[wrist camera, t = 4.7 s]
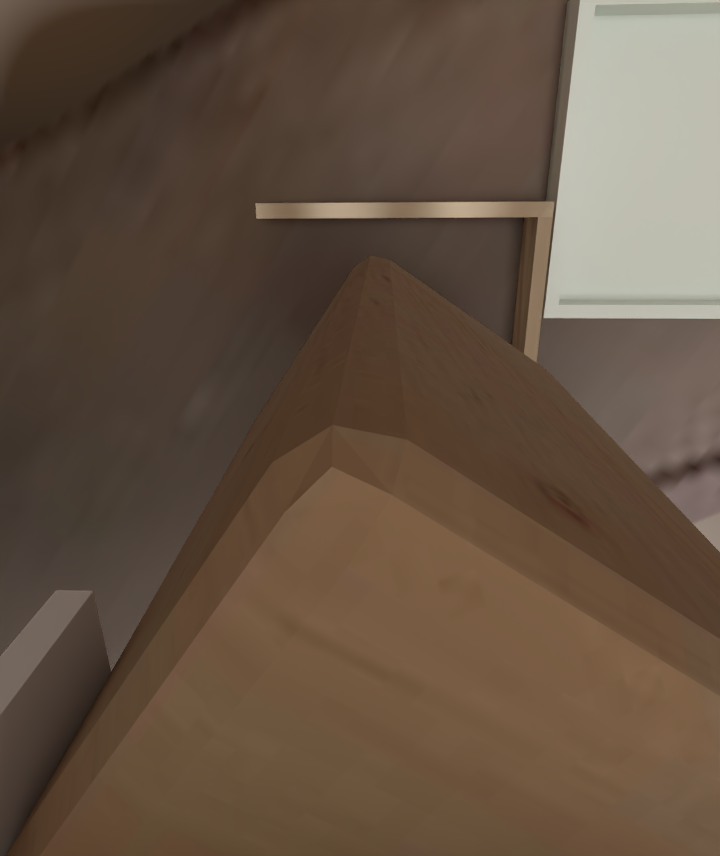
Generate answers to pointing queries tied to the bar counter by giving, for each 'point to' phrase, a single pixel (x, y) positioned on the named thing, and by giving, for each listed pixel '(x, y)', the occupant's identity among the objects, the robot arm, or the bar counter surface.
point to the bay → (533, 212)
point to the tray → (636, 162)
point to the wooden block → (412, 626)
